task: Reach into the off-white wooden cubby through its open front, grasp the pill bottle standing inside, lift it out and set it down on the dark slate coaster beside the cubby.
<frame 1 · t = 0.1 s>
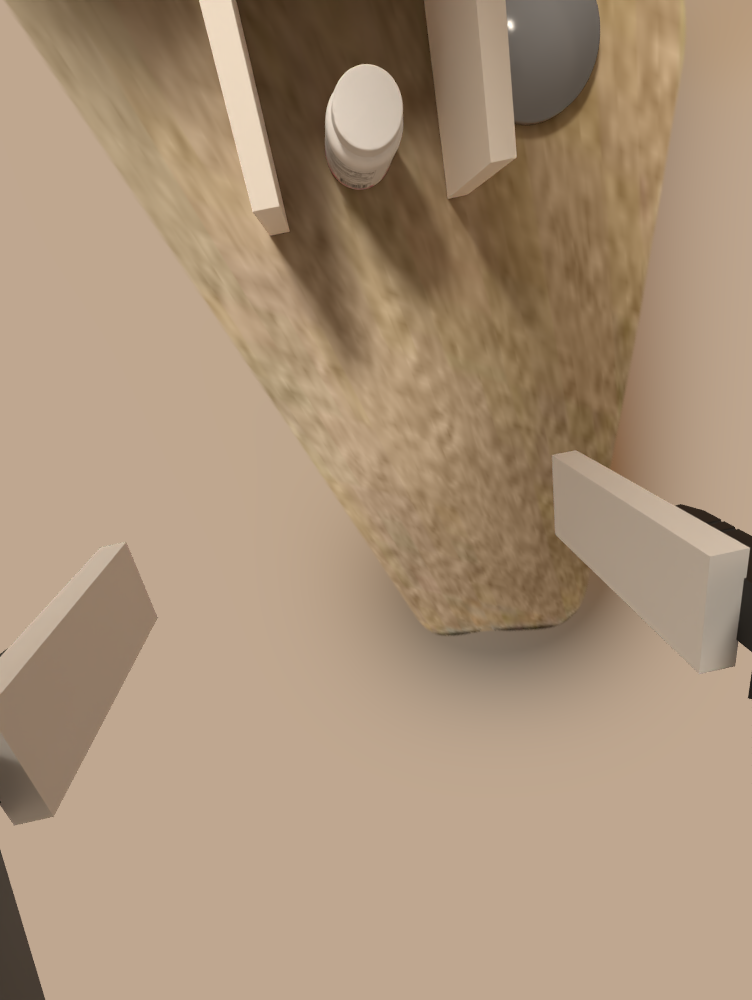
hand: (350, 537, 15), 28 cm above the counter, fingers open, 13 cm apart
pill bottle: (357, 152, 35), on the counter
coaster: (530, 46, 34), on the counter
cubby: (345, 83, 34), on the counter
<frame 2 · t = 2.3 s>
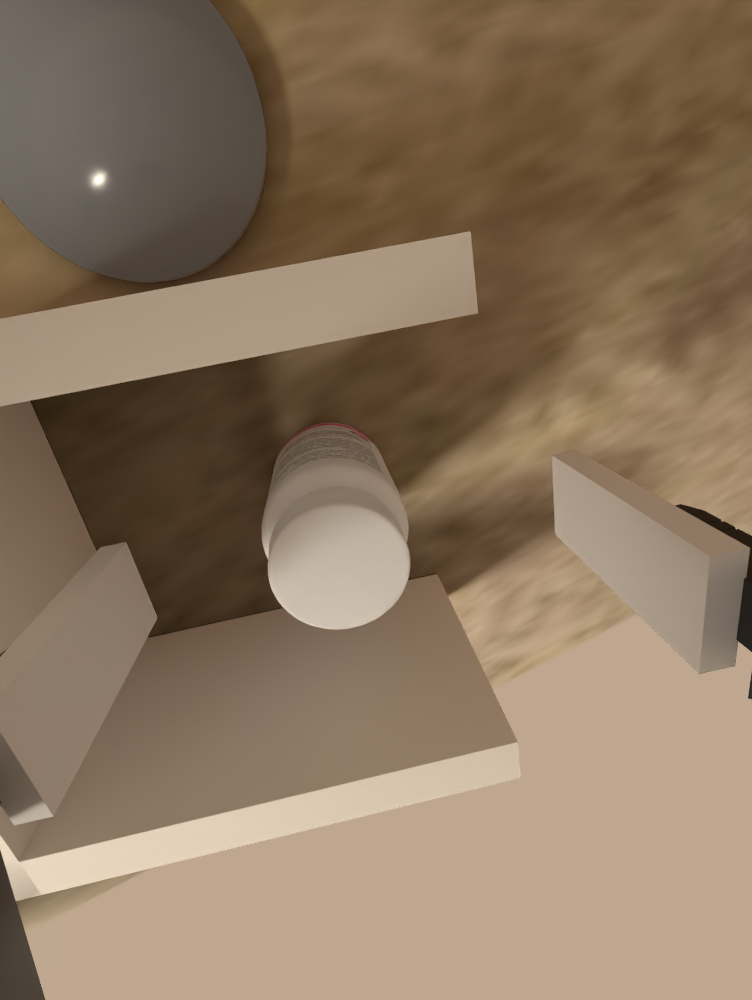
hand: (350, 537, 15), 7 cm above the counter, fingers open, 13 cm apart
pill bottle: (329, 473, 22), on the counter
coaster: (128, 134, 16), on the counter
cubby: (238, 494, 21), on the counter
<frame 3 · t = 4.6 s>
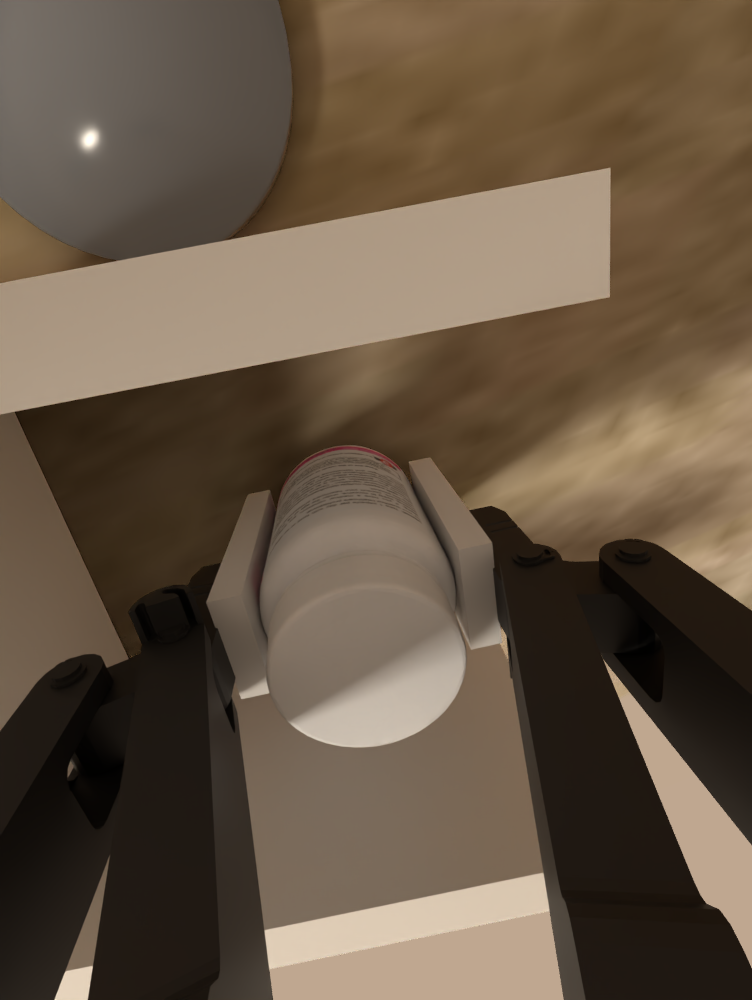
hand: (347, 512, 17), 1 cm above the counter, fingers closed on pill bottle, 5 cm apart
pill bottle: (346, 505, 18), point 1 cm above the counter, touching gripper
coaster: (122, 77, 13), on the counter
cubby: (253, 515, 18), on the counter
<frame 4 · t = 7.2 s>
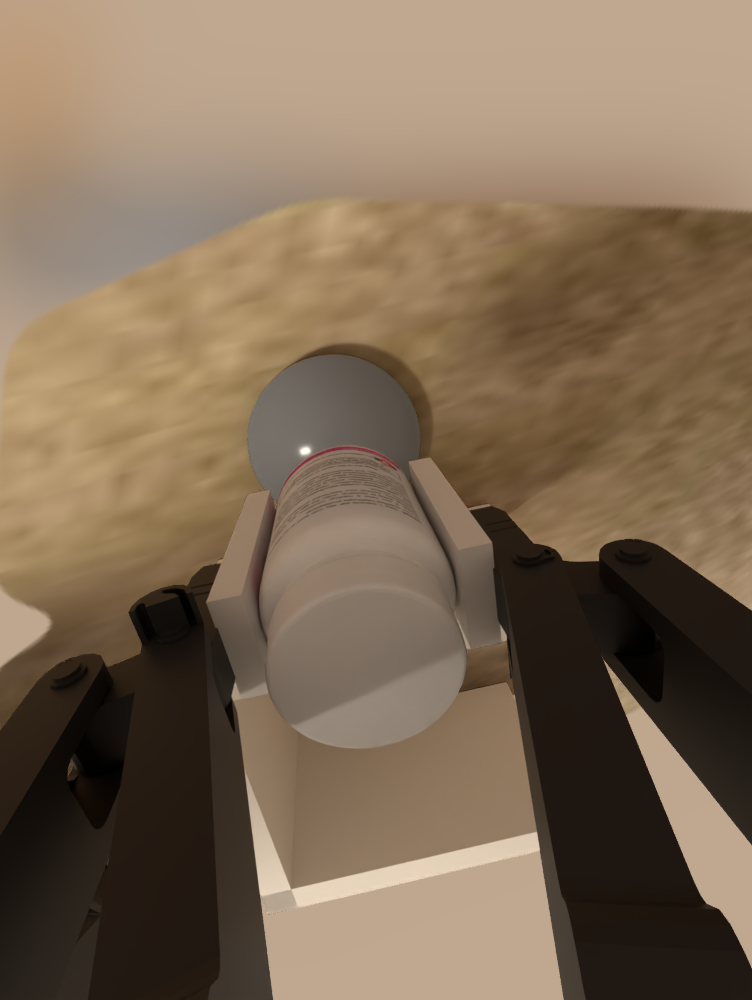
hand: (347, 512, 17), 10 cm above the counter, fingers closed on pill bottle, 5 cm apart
pill bottle: (346, 506, 18), point 10 cm above the counter, touching gripper
coaster: (335, 440, 27), on the counter
cubby: (377, 636, 31), on the counter
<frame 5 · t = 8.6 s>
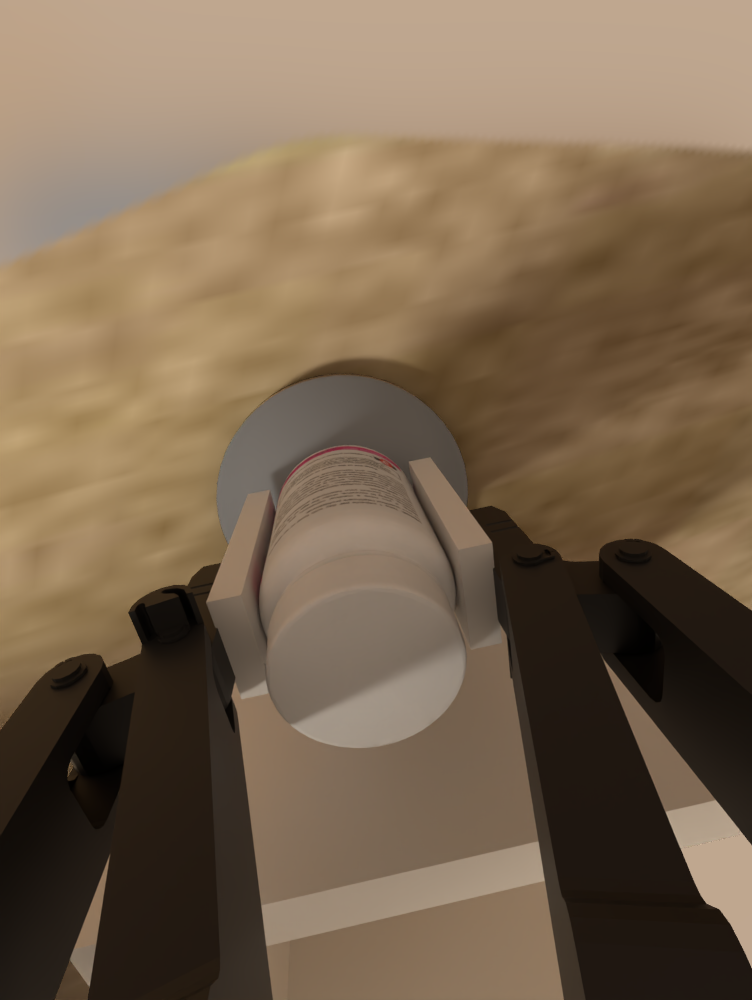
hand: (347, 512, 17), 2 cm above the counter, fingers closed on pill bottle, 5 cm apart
pill bottle: (346, 506, 18), point 1 cm above the counter, touching gripper
coaster: (344, 496, 19), on the counter
cubby: (398, 746, 23), on the counter
when the fingers open (1 cm above the counter, at t = 9.4 s): pill bottle stays where it is, resting on coaster.
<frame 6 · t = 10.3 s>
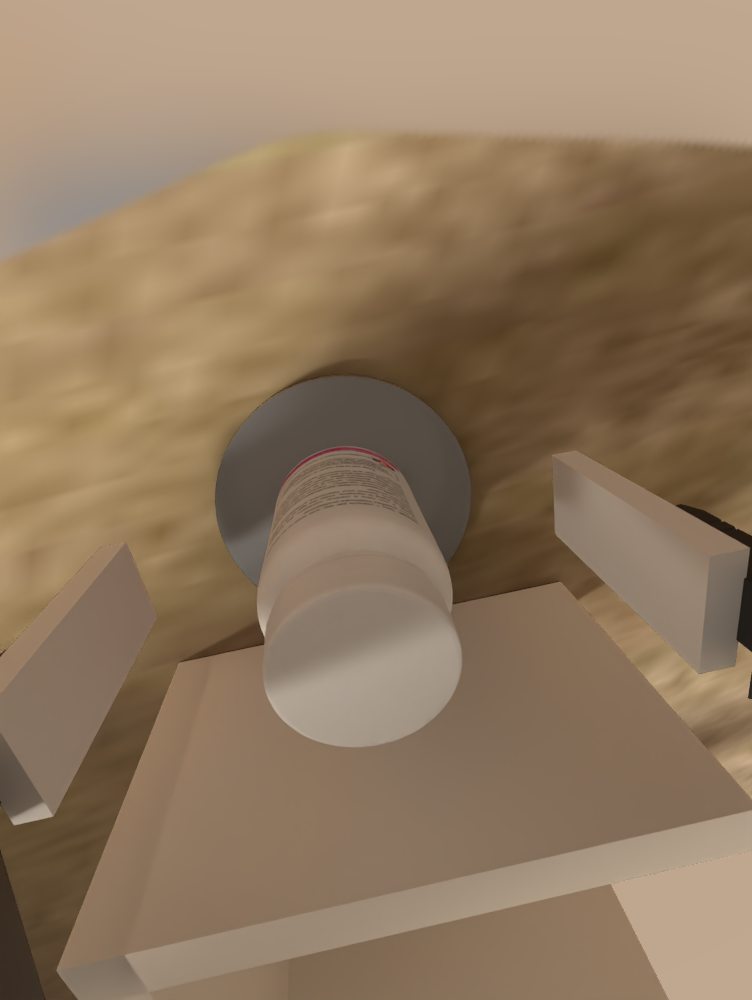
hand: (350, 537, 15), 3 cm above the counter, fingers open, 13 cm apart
pill bottle: (344, 506, 18), point 1 cm above the counter, touching coaster
coaster: (345, 499, 18), on the counter
cubby: (400, 752, 23), on the counter
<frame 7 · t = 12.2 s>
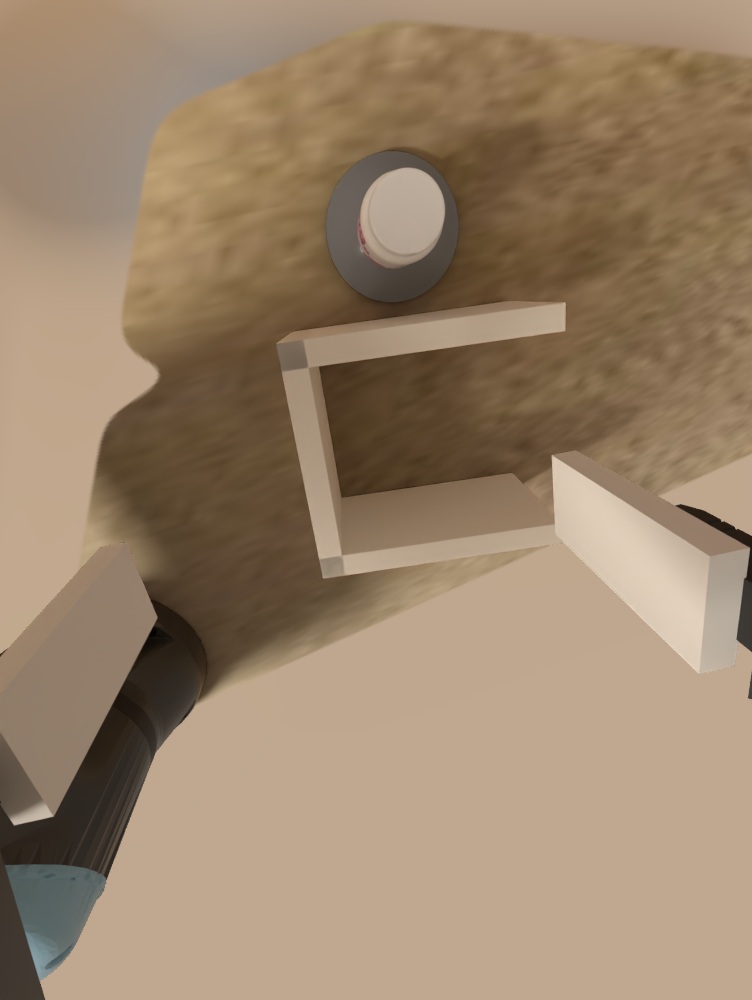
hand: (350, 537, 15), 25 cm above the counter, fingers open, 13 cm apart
pill bottle: (391, 231, 33), point 1 cm above the counter, touching coaster
coaster: (391, 231, 34), on the counter
cubby: (410, 416, 39), on the counter
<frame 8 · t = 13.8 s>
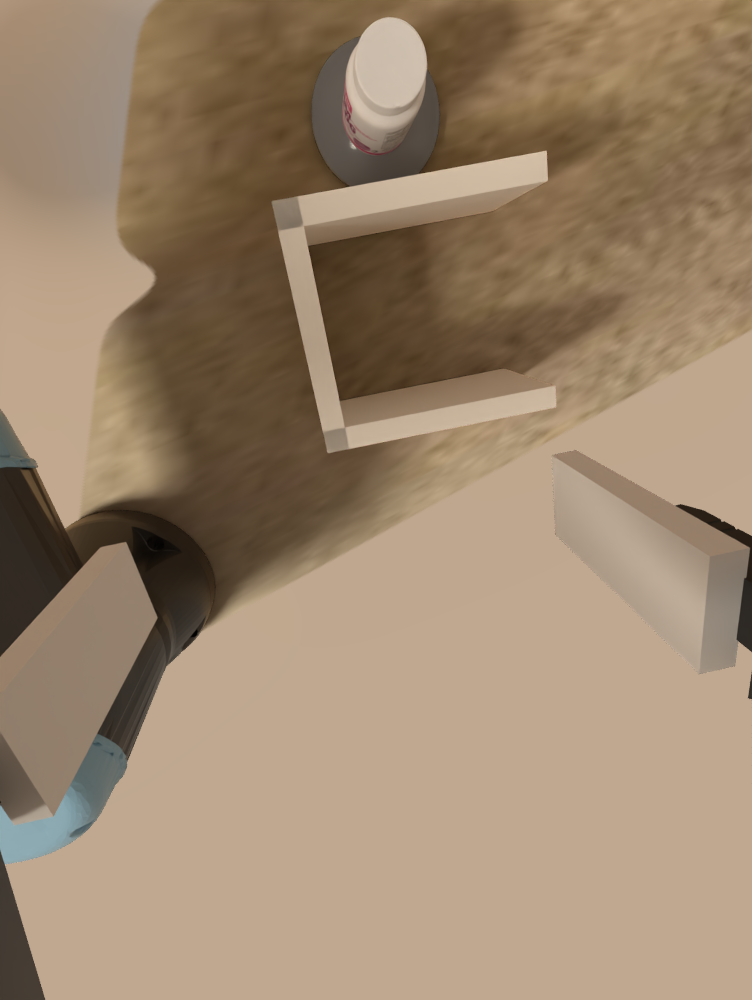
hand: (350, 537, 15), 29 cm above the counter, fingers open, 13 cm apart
pill bottle: (375, 118, 35), point 1 cm above the counter, touching coaster
coaster: (375, 120, 35), on the counter
cubby: (403, 312, 40), on the counter
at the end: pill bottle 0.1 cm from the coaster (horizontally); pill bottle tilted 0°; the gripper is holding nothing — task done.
